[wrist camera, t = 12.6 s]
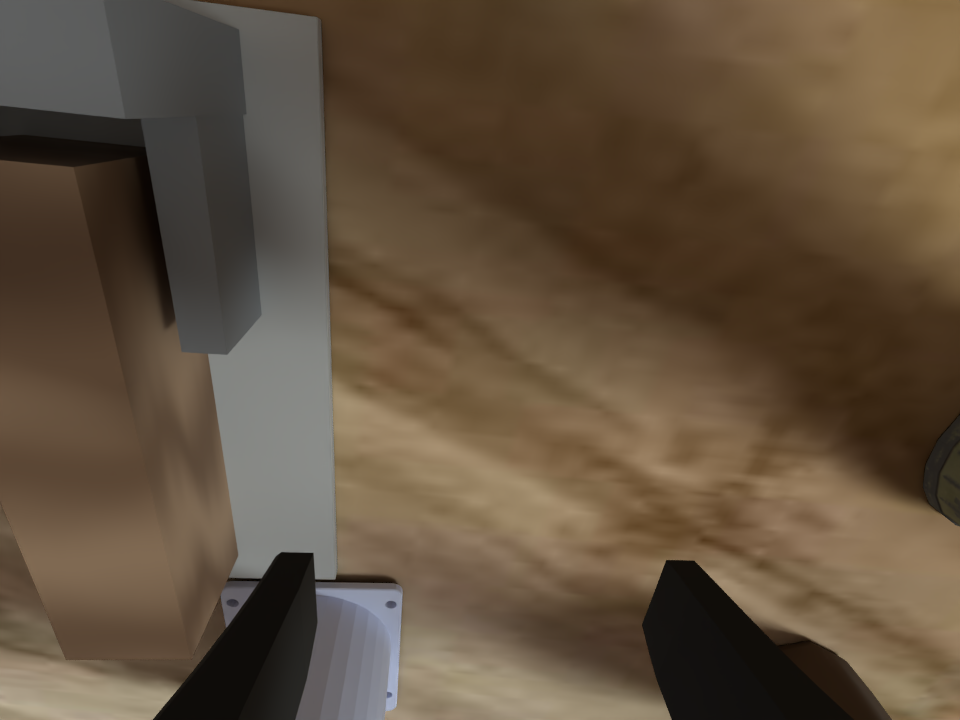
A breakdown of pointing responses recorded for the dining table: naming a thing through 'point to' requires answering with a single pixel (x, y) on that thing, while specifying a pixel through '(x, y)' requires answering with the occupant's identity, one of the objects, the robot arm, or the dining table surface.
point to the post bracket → (215, 218)
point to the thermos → (945, 474)
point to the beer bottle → (836, 680)
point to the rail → (104, 409)
